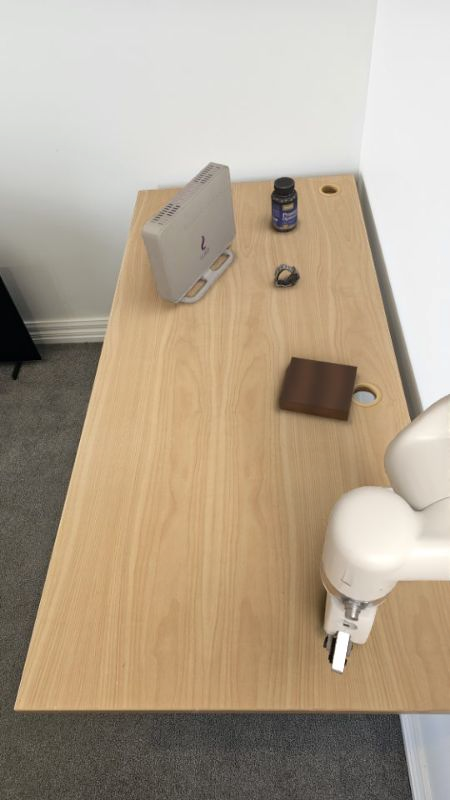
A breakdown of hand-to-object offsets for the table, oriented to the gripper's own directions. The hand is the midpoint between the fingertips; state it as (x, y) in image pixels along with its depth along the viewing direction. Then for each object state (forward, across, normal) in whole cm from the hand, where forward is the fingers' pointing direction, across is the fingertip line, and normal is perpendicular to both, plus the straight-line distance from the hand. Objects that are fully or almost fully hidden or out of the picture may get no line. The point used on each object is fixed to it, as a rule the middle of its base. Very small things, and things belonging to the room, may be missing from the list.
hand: (342, 609), depth 65 cm
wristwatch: (+5, +65, +22) cm, 69 cm away
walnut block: (+5, +37, +10) cm, 39 cm away
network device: (+5, +65, +42) cm, 77 cm away
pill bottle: (+5, +85, +27) cm, 89 cm away
